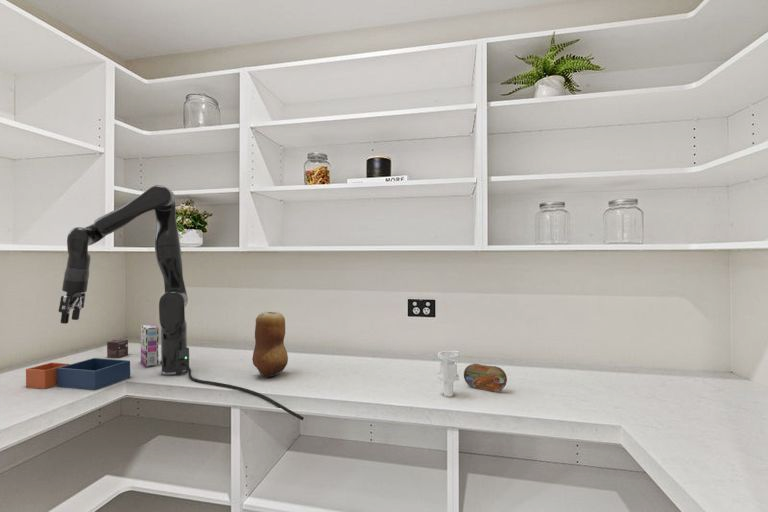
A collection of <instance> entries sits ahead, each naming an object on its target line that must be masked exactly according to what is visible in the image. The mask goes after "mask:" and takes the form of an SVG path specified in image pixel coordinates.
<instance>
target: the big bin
mask: <svg viewBox="0 0 768 512" xmlns="http://www.w3.org/2000/svg"><path fill="white" fill-rule="evenodd" d="M69 364H70V365H66V366H63V367H59V368H57V385H56V387H61V388H72V389H79V390H80V389H82V390H91V391H97V390H99V389H101V388H105V387H108V386H111V385H113V384H116V383H120V382H122V381H125V380H127V379H131V360H129V359H127V360H126V359H116V358H103V357H102V358H101V357H92V358H89V359H85V360H82V361H78V362H75V363H69Z"/></svg>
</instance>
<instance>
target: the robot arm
mask: <svg viewBox="0 0 768 512" xmlns="http://www.w3.org/2000/svg"><path fill="white" fill-rule="evenodd" d="M176 203H177V201H176V195H175V193H174V192H173V191H172V190H171V189H170V188H168V187H167V186H165V185H159V184H156V185H153V186H151V187H149V188H148V189H146V190H145V191H144V192H142V193H141V194H139V195H138V196H137V197H135V198H133V199H132V200H131V201H129V202H127V203H125V204H124V205H122V206H120V207H118V208H116V209H114V210H112V211H110V212H108V213H106V214H103V215H102V216H99V217H97V218H96V219H95V220H93V223H92V224H89V225H88V226H85V227H82V226H76V227H73V228H71V229H70V230H69V232H68V234H67V236H66V238H67V239H66V247H67V259H66V260H67V261H66V267H65V270H64V274H63V280H62V281H63V282H62V287H61V289H62V290H61V291H63V292H65V293H66V294H65V295H61V296H60V300H59V307H58V313H60V314H61V316H60V324H65V325H66V324H68V323H69V320H70V314H71V320H73V321H78V320H79V319H80V314H81V311H82V309H84V307H85V300H86V292H87V291H88V287H89V278H90V267H91V260H92V259H91V254H89V246H93V245H94V244H96V243H98V242H100V241H101V240H102V239H104V238H105V237H106V236H108V235H111V234H113V233H114V232H116V231H118V230H121V229H122V228H124V227H126V226H127V225H129V224H130V223H132V221H134V220H135V219H137V218H138V217H140V216H141V215H144V214H145V213H148V212H151V211H153V210H154V214H155V225H156V226H155V232H154V244H153V246H154V254H155V258H156V262H157V265H158V267H159V268H158V269H159V270H160V273H161V275H162V278H163V285H164V286H163V287H164V293H163V294H162V295H161V296H160V297H159V300H158V319H159V320H158V321H159V325H160V355H161V357H160V358H161V359H160V362H159V365H160V366H161V369H160V370H161V371H160V374H161V375H162V376H180V375H182V374H184V373H188V378H189V379H190V380H191V381H193V382H196V383H201V384H208V385H214V386H220V387H225V388H230V389H235V390H239V391H242V392H246V393H248V394H252V395H254V396H257V397H260V398H262V399H264V400H266V401H268V402H269V403H272V404H273V405H275V406H277V407H278V408H280V409H281V410H283V411H285V412H286V413H288V414H290V415H292V416H293V417H295V418H297V419H298V420H300V421H304V419H305V418H304V416H302V415H300V414H298V413H296V412H295V411H293V410H291V409H290V408H288V407H286V406H285V405H282V404H281V403H280V402H278V401H276V400H274V399H272V398H270V397H268V396H266V395H264V394H263V393H260V392H258V391H255V390H251V389H249V388H245V387H241V386H237V385H232V384H227V383H223V382H217V381H210V380H204V379H198V378H195V377H193V375H192V370H191V367H190V348H189V347H188V325H187V321H186V312H185V311H186V310H185V309H186V307H187V305H188V304H189V303H188V302H189V297H188V292H187V289H186V285H185V281H184V273H183V269H184V268H183V257H182V247H181V241H180V234H179V229H178V225H177V216H176V215H177V213H176V212H177V210H176V209H177V208H176V207H177V204H176ZM71 311H72V313H71Z"/></svg>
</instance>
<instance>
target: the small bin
mask: <svg viewBox="0 0 768 512" xmlns="http://www.w3.org/2000/svg"><path fill="white" fill-rule="evenodd" d="M70 364H71V363H62V362H48V363H44V364H41V365H37V366H33V367H29V368H26V369H25V387H26V388H31V389H32V388H33V389H34V388H35V389H44V390H45V389H49V388H53V387H55V386H56V387H57V368H59V367H63V366H66V365H70Z"/></svg>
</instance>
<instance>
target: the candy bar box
mask: <svg viewBox="0 0 768 512" xmlns="http://www.w3.org/2000/svg"><path fill="white" fill-rule="evenodd" d="M140 363H141V364H142V365H143V366H145V367H146V368H150V367H156V366H159V326H156V325H154V324H144V325H141V326H140Z"/></svg>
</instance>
